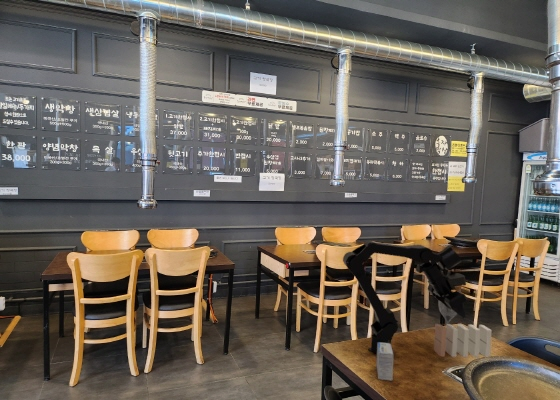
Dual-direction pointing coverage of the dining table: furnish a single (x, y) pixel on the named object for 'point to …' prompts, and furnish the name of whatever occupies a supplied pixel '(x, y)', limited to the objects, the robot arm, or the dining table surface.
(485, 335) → the domino
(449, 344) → the domino
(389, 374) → the medicine box
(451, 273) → the robot arm
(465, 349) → the domino
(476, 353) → the domino
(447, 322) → the wine glass
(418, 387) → the dining table surface
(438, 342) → the domino
